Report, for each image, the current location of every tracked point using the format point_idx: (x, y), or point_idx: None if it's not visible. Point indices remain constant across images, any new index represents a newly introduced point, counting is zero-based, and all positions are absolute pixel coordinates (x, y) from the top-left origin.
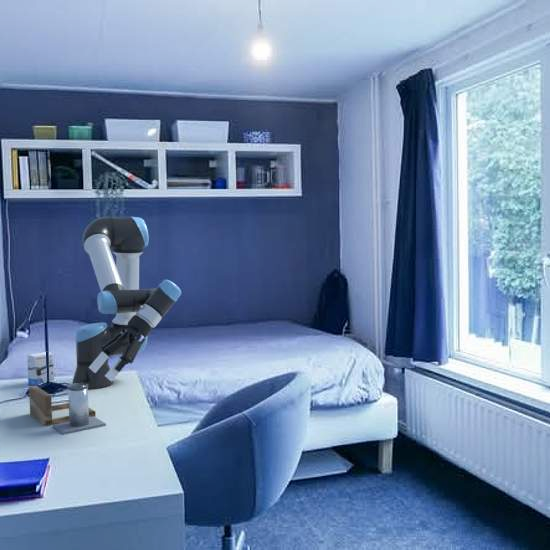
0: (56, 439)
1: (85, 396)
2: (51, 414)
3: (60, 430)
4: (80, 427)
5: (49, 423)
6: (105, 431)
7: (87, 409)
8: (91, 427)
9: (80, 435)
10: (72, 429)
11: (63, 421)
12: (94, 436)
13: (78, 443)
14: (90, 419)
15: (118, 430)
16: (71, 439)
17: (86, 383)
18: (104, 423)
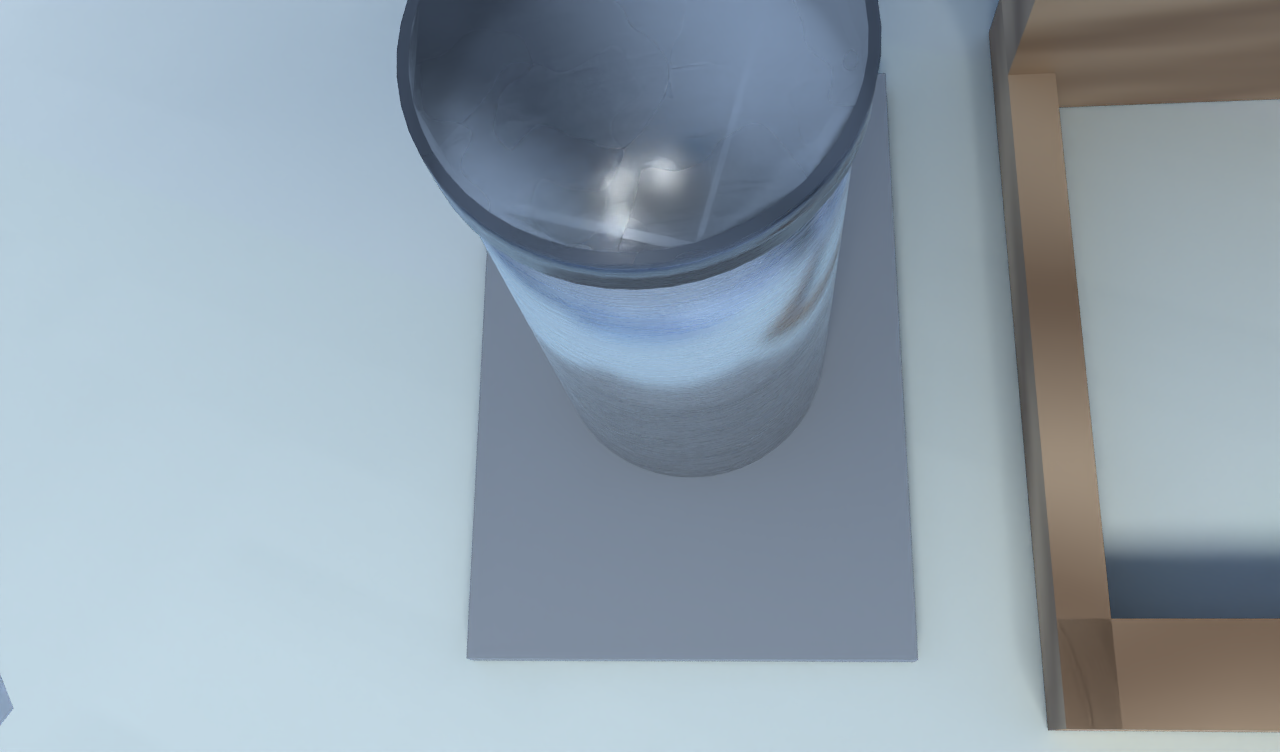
0: (382, 5)
1: (485, 246)
2: (1021, 24)
3: None
4: None
5: (997, 64)
6: (240, 551)
7: (559, 372)
8: (479, 446)
9: (321, 250)
10: None
11: (1009, 242)
12: (163, 367)
13: (78, 148)
14: (812, 554)
15: (150, 709)
16: (261, 129)
17: (643, 241)
18: (482, 643)
